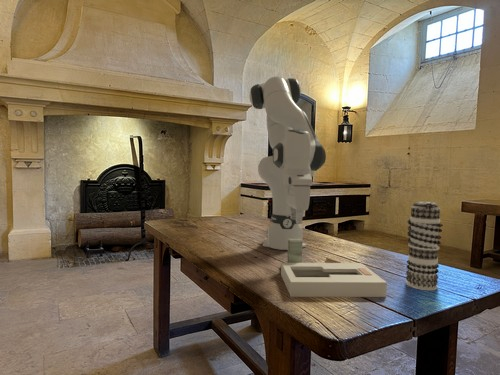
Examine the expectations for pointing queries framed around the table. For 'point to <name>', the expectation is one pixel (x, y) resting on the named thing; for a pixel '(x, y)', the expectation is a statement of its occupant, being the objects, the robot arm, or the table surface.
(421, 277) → the decorative candle
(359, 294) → the keyhole plate
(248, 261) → the table surface
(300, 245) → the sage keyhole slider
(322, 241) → the table surface
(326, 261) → the shard
